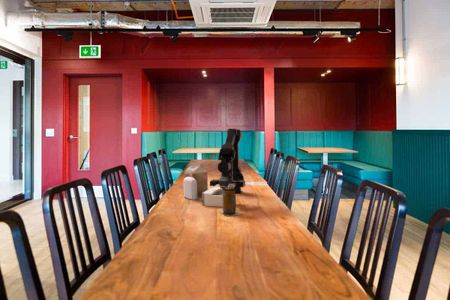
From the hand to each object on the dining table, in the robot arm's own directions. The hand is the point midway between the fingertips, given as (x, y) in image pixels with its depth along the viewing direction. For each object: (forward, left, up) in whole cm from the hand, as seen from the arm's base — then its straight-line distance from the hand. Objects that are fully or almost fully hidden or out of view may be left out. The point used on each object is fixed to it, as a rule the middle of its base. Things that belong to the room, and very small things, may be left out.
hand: (227, 198), depth 157 cm
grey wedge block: (0, -6, -2) cm, 7 cm away
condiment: (+19, +7, -2) cm, 20 cm away
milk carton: (-16, -25, -2) cm, 30 cm away
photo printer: (-5, -24, -2) cm, 25 cm away
